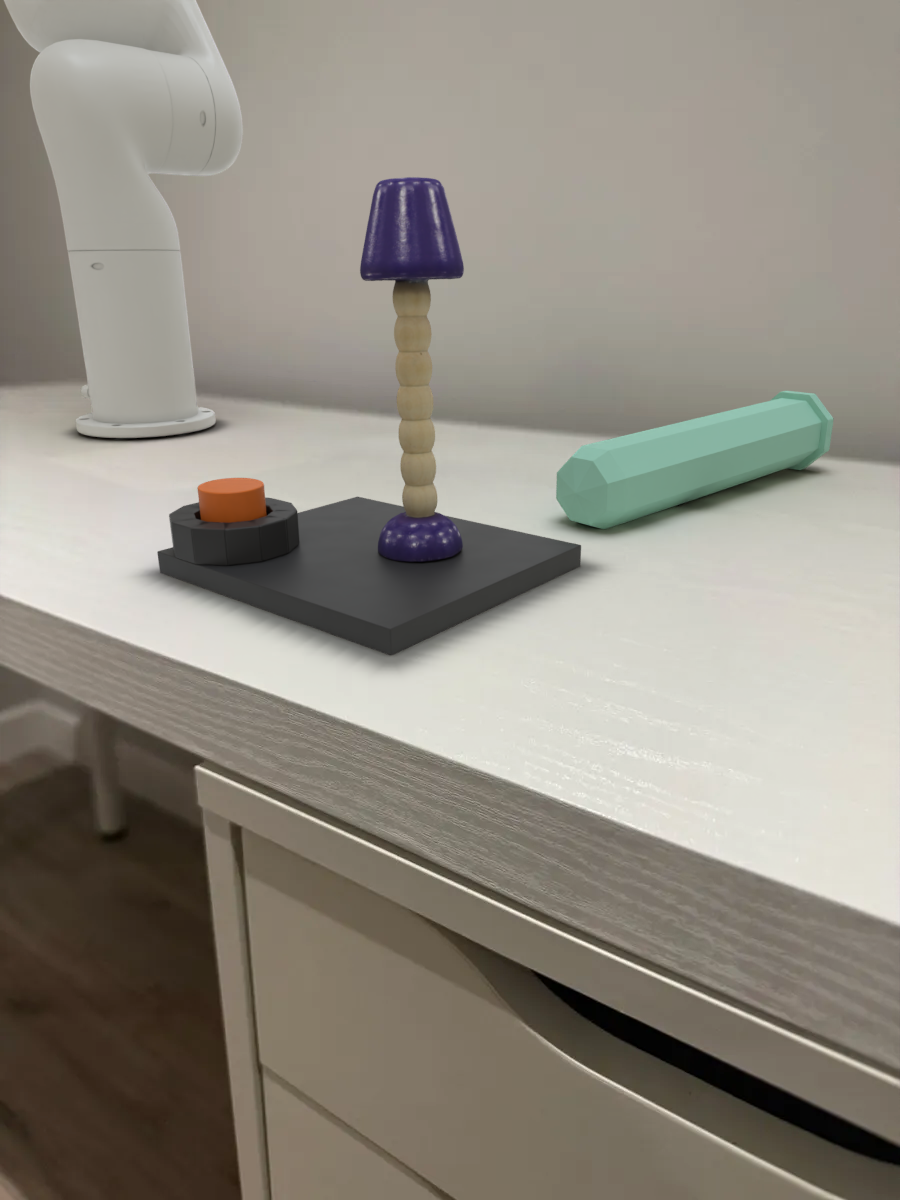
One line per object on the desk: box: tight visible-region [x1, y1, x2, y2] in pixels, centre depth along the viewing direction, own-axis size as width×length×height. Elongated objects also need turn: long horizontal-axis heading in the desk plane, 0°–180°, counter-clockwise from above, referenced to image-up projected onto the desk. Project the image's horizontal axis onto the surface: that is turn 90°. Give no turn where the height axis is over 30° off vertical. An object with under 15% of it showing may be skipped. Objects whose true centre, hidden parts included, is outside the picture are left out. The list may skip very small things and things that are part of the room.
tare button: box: [196, 477, 267, 523], centre depth 44 cm, size 3×3×2 cm
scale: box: [157, 496, 582, 656], centre depth 44 cm, size 16×14×3 cm
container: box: [555, 390, 834, 530], centre depth 57 cm, size 6×6×25 cm
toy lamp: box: [359, 176, 465, 562], centre depth 41 cm, size 5×5×17 cm
